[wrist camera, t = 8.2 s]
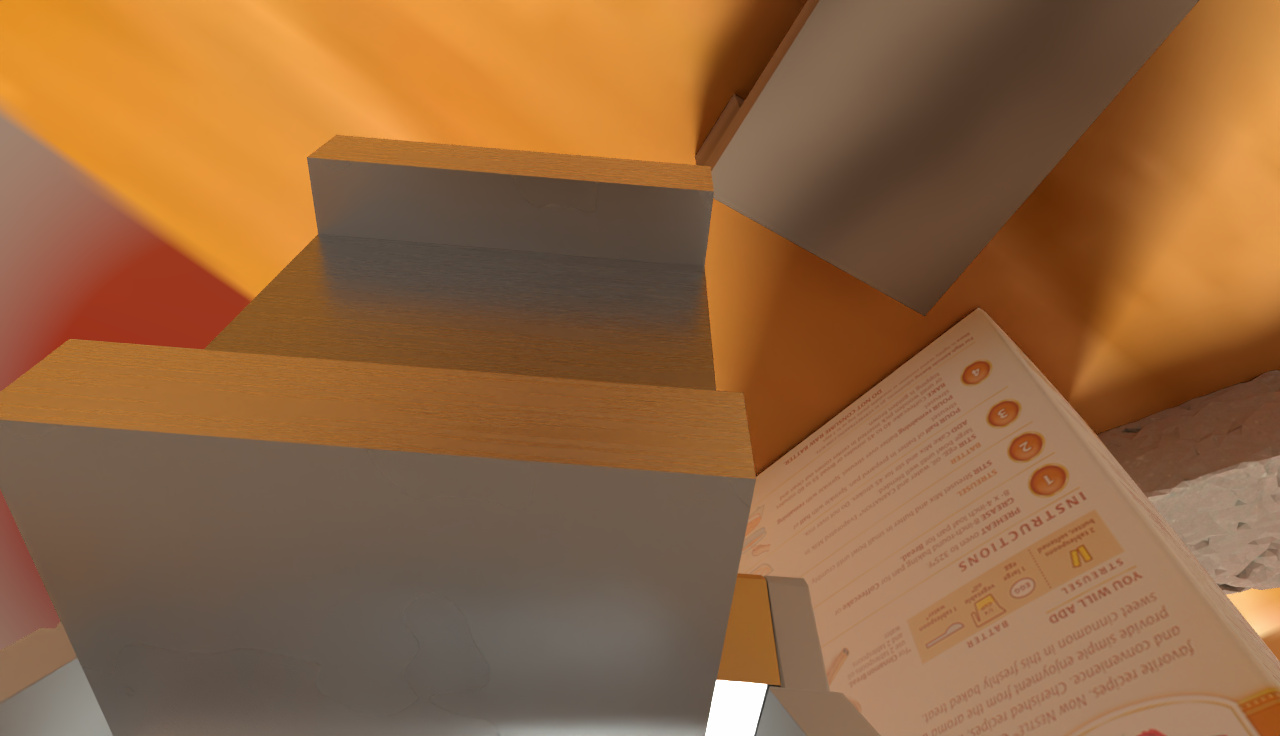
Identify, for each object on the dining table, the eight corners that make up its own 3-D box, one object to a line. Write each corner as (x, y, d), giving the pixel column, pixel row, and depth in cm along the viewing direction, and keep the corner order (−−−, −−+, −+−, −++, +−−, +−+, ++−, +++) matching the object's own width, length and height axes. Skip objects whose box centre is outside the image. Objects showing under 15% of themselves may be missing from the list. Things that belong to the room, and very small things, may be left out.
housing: (336, 135, 11) (-35, 417, 5) (710, 166, 11) (755, 479, 5) (395, 602, 15) (239, 1013, 10) (653, 622, 15) (644, 1041, 10)
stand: (693, 159, 27) (699, 190, 24) (953, -264, 21) (996, -281, 18) (899, 277, 29) (924, 316, 27) (1186, -71, 23) (1253, -63, 21)
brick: (1009, 586, 39) (1052, 668, 35) (967, 469, 35) (1010, 548, 31) (1383, 467, 35) (1479, 545, 31) (1385, 320, 31) (1496, 388, 27)
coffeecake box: (800, 587, 38) (922, 1129, 22) (697, 513, 36) (749, 1067, 19) (1077, 403, 33) (1525, 956, 16) (978, 299, 30) (1394, 833, 14)
